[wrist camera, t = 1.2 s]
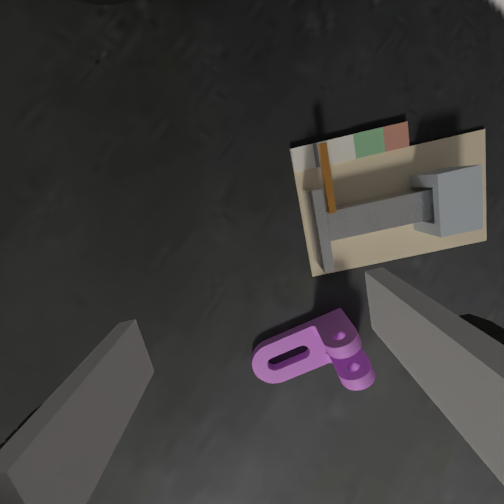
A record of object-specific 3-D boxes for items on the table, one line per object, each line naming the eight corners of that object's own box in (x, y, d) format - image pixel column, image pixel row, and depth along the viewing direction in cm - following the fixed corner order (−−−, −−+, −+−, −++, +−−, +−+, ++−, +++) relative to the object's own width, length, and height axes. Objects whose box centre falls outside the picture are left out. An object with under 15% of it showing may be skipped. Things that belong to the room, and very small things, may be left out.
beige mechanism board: (289, 149, 29) (297, 142, 24) (482, 104, 28) (528, 88, 23) (312, 275, 32) (322, 291, 28) (484, 239, 31) (525, 249, 27)
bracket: (340, 307, 33) (363, 338, 27) (356, 343, 35) (381, 382, 28) (244, 348, 35) (243, 388, 28) (263, 381, 36) (266, 427, 29)
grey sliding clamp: (295, 151, 28) (304, 146, 24) (425, 121, 28) (459, 109, 23) (314, 260, 31) (324, 272, 27) (432, 234, 31) (463, 243, 26)
